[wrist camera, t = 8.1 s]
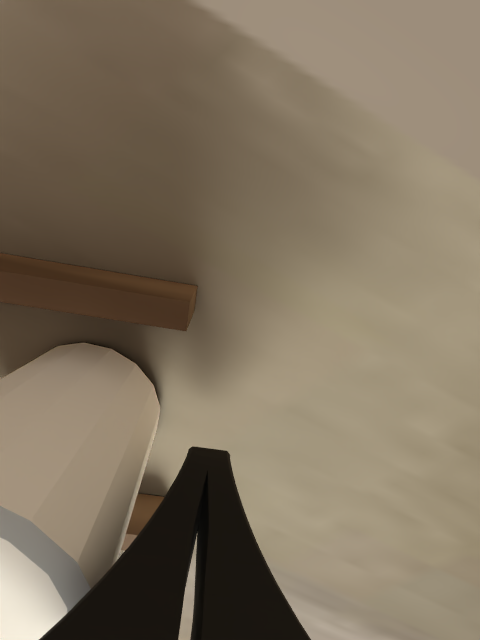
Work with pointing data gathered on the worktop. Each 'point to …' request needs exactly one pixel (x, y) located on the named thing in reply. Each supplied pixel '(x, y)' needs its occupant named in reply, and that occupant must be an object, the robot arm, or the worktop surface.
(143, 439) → the white cylinder
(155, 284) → the walnut bay
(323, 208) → the worktop surface
